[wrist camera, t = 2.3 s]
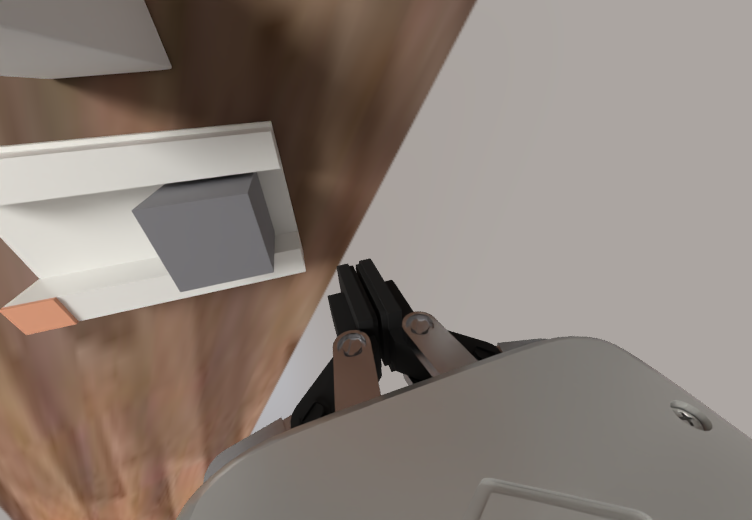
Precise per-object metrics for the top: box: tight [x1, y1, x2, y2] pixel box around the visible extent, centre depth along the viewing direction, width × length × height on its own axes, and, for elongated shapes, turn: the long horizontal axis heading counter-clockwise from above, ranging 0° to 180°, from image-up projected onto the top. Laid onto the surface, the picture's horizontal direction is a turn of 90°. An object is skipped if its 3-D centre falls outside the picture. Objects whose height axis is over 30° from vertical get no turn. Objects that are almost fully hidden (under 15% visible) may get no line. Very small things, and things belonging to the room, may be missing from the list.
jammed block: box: [131, 172, 275, 292], centre depth 19 cm, size 6×6×7 cm
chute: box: [0, 121, 306, 335], centre depth 20 cm, size 20×12×5 cm, turn 96°
